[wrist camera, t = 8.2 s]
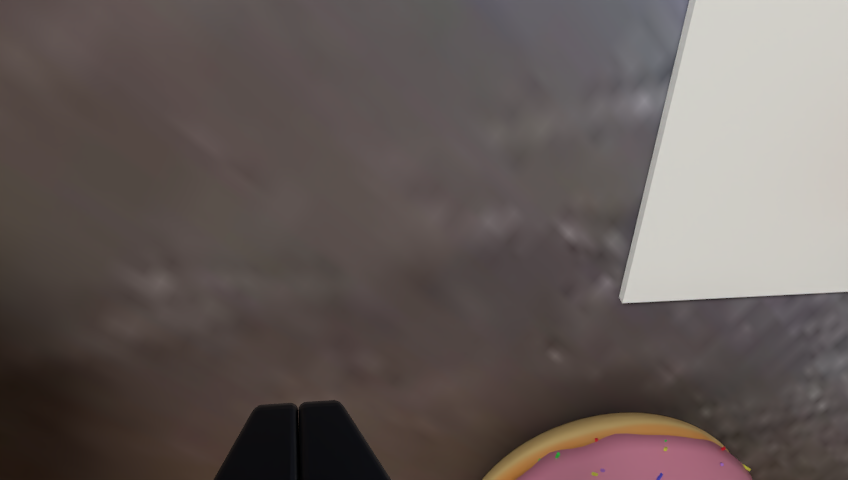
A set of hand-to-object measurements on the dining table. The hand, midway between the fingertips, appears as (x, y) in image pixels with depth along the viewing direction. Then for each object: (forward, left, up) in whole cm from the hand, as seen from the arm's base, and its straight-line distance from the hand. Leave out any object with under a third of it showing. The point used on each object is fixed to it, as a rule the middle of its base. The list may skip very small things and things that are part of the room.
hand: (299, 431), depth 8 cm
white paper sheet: (+12, -12, -12) cm, 21 cm away
